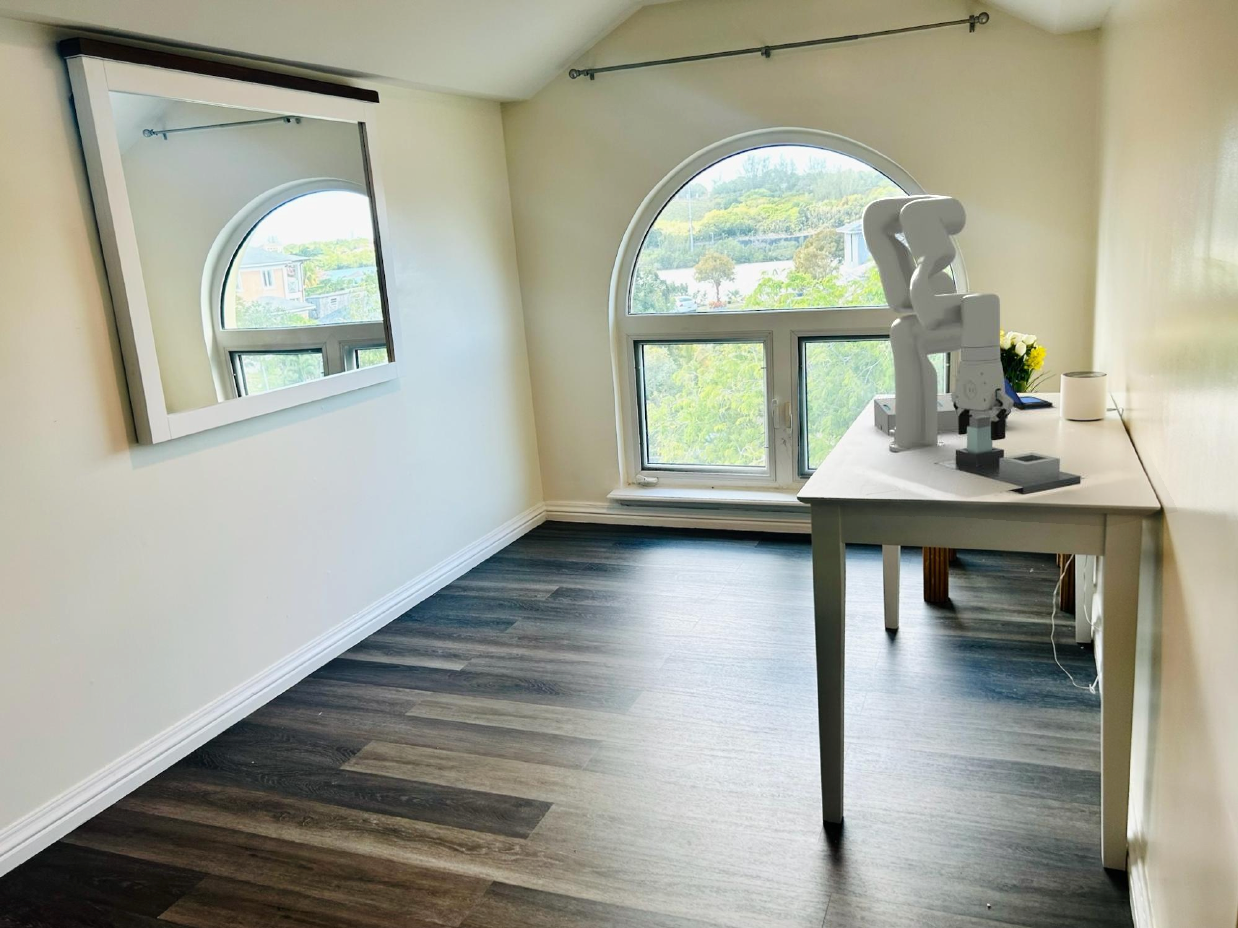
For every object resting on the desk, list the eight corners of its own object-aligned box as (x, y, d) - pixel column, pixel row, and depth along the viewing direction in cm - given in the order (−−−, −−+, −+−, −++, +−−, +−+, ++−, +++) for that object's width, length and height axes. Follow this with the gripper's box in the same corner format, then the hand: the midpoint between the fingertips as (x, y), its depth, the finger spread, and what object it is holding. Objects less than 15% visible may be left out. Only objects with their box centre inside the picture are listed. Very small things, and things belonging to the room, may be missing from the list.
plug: (967, 463, 203) (967, 417, 201) (982, 461, 204) (982, 414, 202) (976, 466, 200) (977, 419, 198) (992, 463, 201) (992, 416, 199)
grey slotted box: (888, 436, 246) (887, 407, 244) (874, 427, 260) (874, 399, 258) (1006, 428, 245) (1006, 399, 243) (986, 419, 259) (986, 391, 257)
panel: (933, 470, 206) (933, 447, 205) (986, 461, 210) (986, 438, 209) (1023, 494, 182) (1023, 468, 181) (1080, 483, 186) (1081, 458, 185)
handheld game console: (1054, 408, 266) (1055, 375, 264) (1006, 412, 266) (1006, 379, 264) (1030, 400, 281) (1030, 368, 279) (984, 403, 281) (984, 372, 279)
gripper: (937, 355, 204) (939, 434, 207) (996, 358, 188) (996, 444, 191) (966, 351, 206) (967, 429, 209) (1026, 354, 190) (1026, 439, 193)
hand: (981, 436), depth 200 cm, fingers open, 9 cm apart
